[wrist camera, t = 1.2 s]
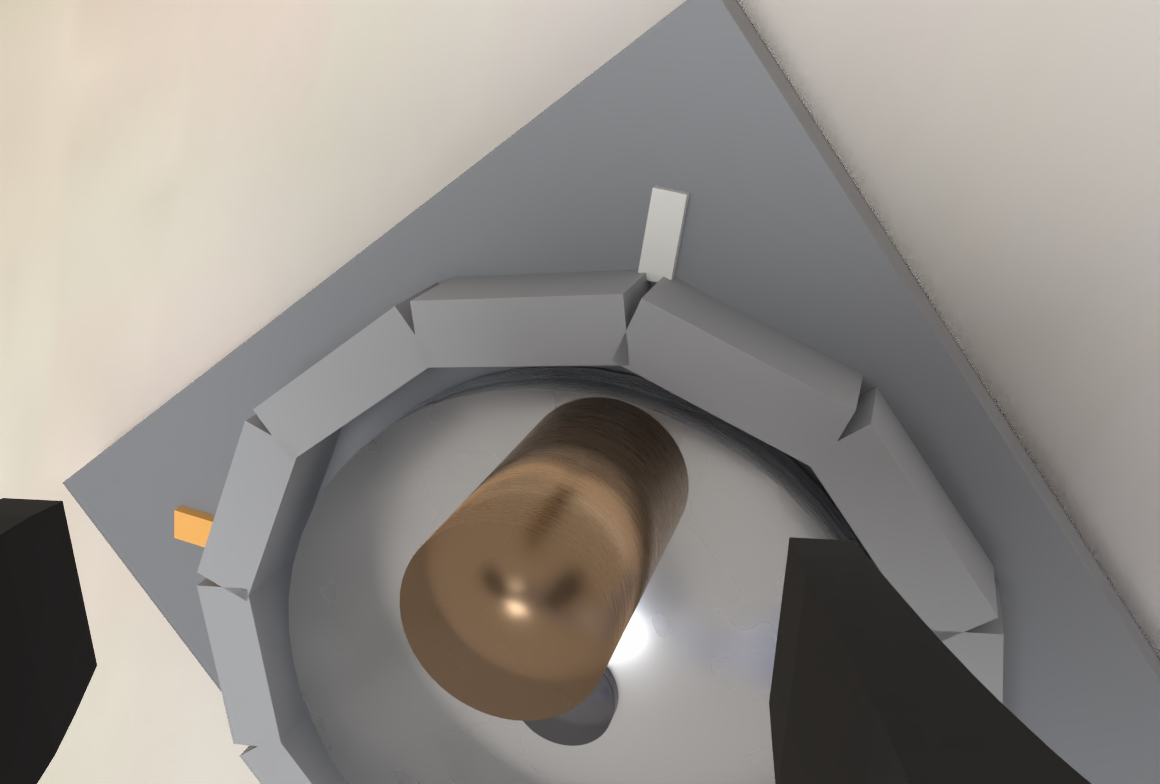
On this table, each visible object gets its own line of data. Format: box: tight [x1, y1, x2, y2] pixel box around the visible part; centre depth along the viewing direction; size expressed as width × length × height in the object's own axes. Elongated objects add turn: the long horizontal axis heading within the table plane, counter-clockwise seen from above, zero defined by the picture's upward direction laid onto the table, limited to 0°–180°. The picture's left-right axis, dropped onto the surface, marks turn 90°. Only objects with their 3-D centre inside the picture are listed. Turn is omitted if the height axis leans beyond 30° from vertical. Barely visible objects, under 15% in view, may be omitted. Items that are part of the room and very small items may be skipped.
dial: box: [289, 366, 867, 784], centre depth 19 cm, size 12×12×6 cm
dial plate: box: [63, 0, 1160, 784], centre depth 22 cm, size 18×18×3 cm
